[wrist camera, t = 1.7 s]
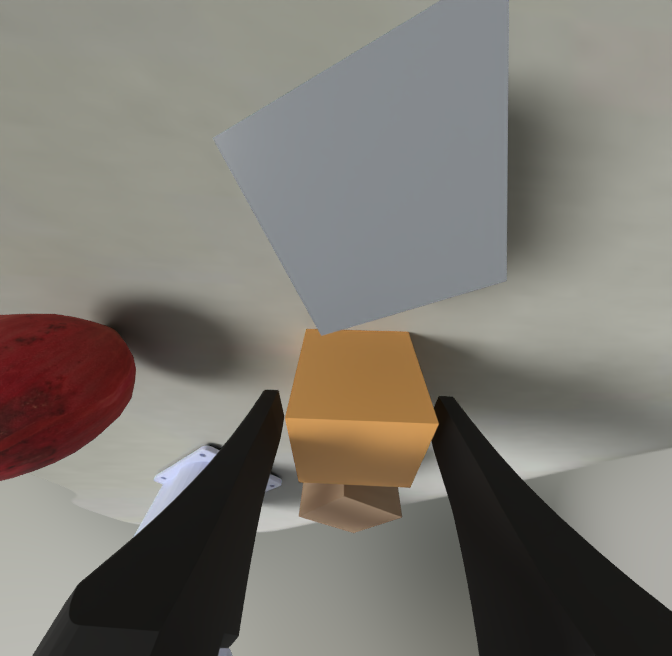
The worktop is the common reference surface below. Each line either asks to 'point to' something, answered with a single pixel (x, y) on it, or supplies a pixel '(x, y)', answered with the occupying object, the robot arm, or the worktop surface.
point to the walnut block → (349, 505)
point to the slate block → (388, 168)
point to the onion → (57, 387)
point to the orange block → (359, 409)
